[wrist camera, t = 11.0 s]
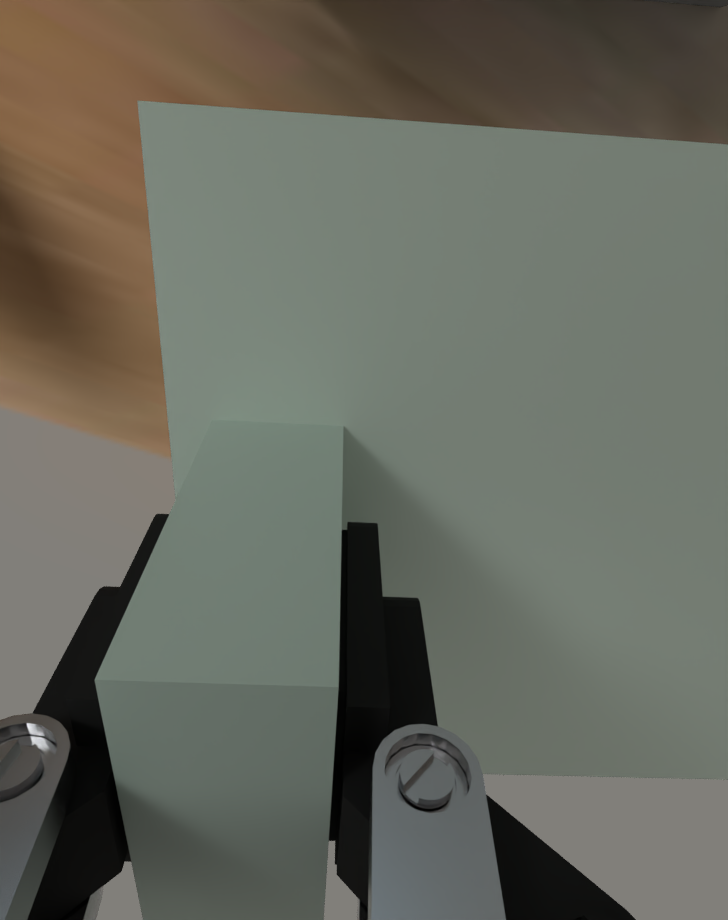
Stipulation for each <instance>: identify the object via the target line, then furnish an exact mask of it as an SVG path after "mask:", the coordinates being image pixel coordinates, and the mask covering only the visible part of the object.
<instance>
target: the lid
mask: <svg viewBox="0 0 728 920" xmlns="http://www.w3.org/2000/svg"><path fill="white" fill-rule="evenodd" d="M138 111H139V121H140V132H141V142H142V153H143V163H144V174H145V184H146V195H147V205H148V216H149V226H150V237H151V247H152V258H153V268H154V279H155V289H156V300H157V310H158V321H159V331H160V342H161V352H162V363H163V373H164V384H165V394H166V405H167V415H168V426H169V436H170V447H171V457H172V466H173V477H174V489H175V499H176V501H175V503H174V505H173V507H172V510H171V512H170V514H169V516H168V518H167V521H166V523H165V525H164V527H163V529H162V532H161V534H160V536H159V538H158V540H157V543H156V545H155V547H154V549H153V552H152V554H151V556H150V558H149V560H148V563H147V565H146V567H145V569H144V571H143V574H142V576H141V578H140V580H139V583H138V585H137V587H136V589H135V591H134V594H133V596H132V598H131V600H130V602H129V605H128V607H127V609H126V611H125V614H124V616H123V618H122V620H121V622H120V625H119V627H118V629H117V631H116V633H115V636H114V638H113V640H112V642H111V645H110V647H109V649H108V651H107V653H106V656H105V658H104V660H103V662H102V664H101V667H100V669H99V671H98V673H97V675H96V678H95V685H96V690H97V695H98V700H99V705H100V710H101V715H102V720H103V724H104V729H105V734H106V739H107V744H108V749H109V754H110V759H111V764H112V769H113V774H114V779H115V784H116V789H117V793H118V798H119V803H120V808H121V813H122V818H123V823H124V828H125V833H126V838H127V843H128V848H129V853H130V858H131V862H132V867H133V872H134V877H135V882H136V887H137V892H138V897H139V902H140V907H141V912H142V917H143V920H324V905H325V903H324V902H325V889H326V873H327V858H328V842H329V828H330V812H331V797H332V782H333V766H334V751H335V735H336V720H337V705H338V689H339V642H340V589H341V536H342V530H347V522H365V523H377V524H378V535H379V549H380V564H381V579H382V593H383V597H409V598H418V599H419V601H420V606H421V612H422V619H423V626H424V633H425V640H426V647H427V654H428V661H429V668H430V675H431V681H432V688H433V695H434V702H435V709H436V716H437V723H438V727H442V728H444V729H446V730H448V731H450V732H452V733H454V734H456V735H457V736H458V737H459V738H461V739H462V740H463V741H464V742H465V743H467V744H468V745H469V747H470V748H471V750H472V751H473V753H474V754H475V755H476V757H477V758H478V761H479V764H480V767H481V770H482V773H483V774H503V775H546V776H547V775H548V776H590V777H592V776H593V777H636V778H637V777H638V778H681V779H723V780H725V779H726V780H728V144H715V143H701V142H688V141H674V140H661V139H647V138H634V137H620V136H607V135H593V134H580V133H566V132H553V131H539V130H526V129H512V128H499V127H486V126H472V125H459V124H445V123H432V122H418V121H405V120H391V119H378V118H364V117H351V116H337V115H324V114H310V113H297V112H283V111H270V110H256V109H243V108H230V107H216V106H203V105H189V104H176V103H162V102H148V101H138Z"/></svg>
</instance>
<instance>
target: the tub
mask: <svg viewBox="0 0 728 920" xmlns="http://www.w3.org/2000/svg"><path fill="white" fill-rule="evenodd" d="M646 1H657V2H669V3H681V4H692V5H704V6H716V7H723V6H726V5H728V0H646Z"/></svg>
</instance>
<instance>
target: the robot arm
mask: <svg viewBox="0 0 728 920" xmlns="http://www.w3.org/2000/svg"><path fill="white" fill-rule="evenodd" d="M168 516H169V514H157V515H155V517H154V519H153V521H152V523H151V525H150V527H149V529H148V531H147V533H146V535H145V537H144V539H143V541H142V543H141V545H140V547H139V550H138V551H137V554H136V556H135V558H134V560H133V562H132V564H131V566H130V568H129V570H128V572H127V574H126V576H125V578H124V580H123V582H122V584H121V586H120V587H102V588H101V589H99V591H98V592H97V594H96V595H95V597H94V599H93V600H92V602H91V604H90V606H89V608H88V610H87V612H86V614H85V615H84V618H83V619H82V621H81V623H80V625H79V627H78V629H77V630H76V632H75V635H74V636H73V638H72V640H71V642H70V644H69V646H68V647H67V650H66V651H65V653H64V655H63V657H62V659H61V661H60V662H59V664H58V666H57V669H56V670H55V672H54V674H53V676H52V678H51V679H50V681H49V683H48V685H47V687H46V689H45V691H44V693H43V695H42V697H41V698H40V700H39V702H38V704H37V706H36V708H35V710H34V711H33V713H31V714H22V715H14V716H11V717H8V718H5V719H2V720H0V920H96V917H97V913H98V910H99V906H100V903H101V899H102V892H103V885H105V884H106V883H107V882H109V881H110V880H111V879H112V878H114V877H115V876H116V875H117V874H119V873H120V872H121V871H122V868H123V864H124V861H131V858H130V853H129V848H128V843H127V838H126V833H125V828H124V823H123V818H122V813H121V808H120V803H119V798H118V793H117V789H116V784H115V779H114V774H113V769H112V764H111V759H110V754H109V749H108V744H107V739H106V734H105V729H104V724H103V720H102V715H101V710H100V705H99V700H98V695H97V690H96V685H95V678H96V675H97V673H98V671H99V669H100V667H101V664H102V662H103V660H104V658H105V656H106V653H107V651H108V649H109V647H110V645H111V642H112V640H113V638H114V636H115V633H116V631H117V629H118V627H119V625H120V622H121V620H122V618H123V616H124V614H125V611H126V609H127V607H128V605H129V602H130V600H131V598H132V596H133V594H134V591H135V589H136V587H137V585H138V583H139V580H140V578H141V576H142V574H143V571H144V569H145V567H146V565H147V563H148V560H149V558H150V556H151V554H152V552H153V549H154V547H155V545H156V543H157V540H158V538H159V536H160V534H161V532H162V529H163V527H164V525H165V523H166V521H167V518H168ZM329 841H335V864H337V875H338V876H339V877H340V879H341V880H342V881H343V882H344V883H345V884H346V885H347V886H348V887H349V888H350V890H352V892H353V893H354V894H355V895H356V896H357V897H358V910H357V911H358V912H357V913H358V914H357V920H636V919H635V918H634V917H633V916H632V915H630V913H629V912H628V911H627V910H625V909H624V908H623V907H622V906H621V905H620V904H618V903H617V902H616V901H615V900H614V899H612V898H611V897H610V896H609V895H607V894H606V893H605V892H604V891H603V890H601V889H600V888H599V887H598V886H596V885H595V884H594V883H593V882H592V881H590V880H589V879H588V878H587V877H586V876H584V875H583V874H582V873H581V872H580V871H578V870H577V869H576V868H575V867H574V866H572V865H571V864H570V863H569V862H567V861H566V860H565V859H563V857H561V856H560V855H559V854H558V853H557V852H555V851H554V850H553V849H552V848H551V847H549V846H548V845H547V844H546V843H544V842H543V841H542V840H541V839H540V838H538V837H537V836H536V835H535V834H534V833H532V832H531V831H530V830H528V829H527V828H526V827H525V826H524V825H523V824H521V823H520V822H519V821H518V820H517V819H515V818H514V817H513V816H511V815H510V814H509V813H508V812H507V811H506V810H504V809H503V808H502V807H501V806H500V805H498V804H497V803H496V802H495V801H494V800H492V799H491V798H490V797H489V796H487V795H486V791H485V786H484V779H483V773H482V770H481V767H480V764H479V761H478V758H477V757H476V755H475V754H474V753H473V751H472V750H471V748H470V747H469V745H468V744H467V743H465V742H464V741H463V740H462V739H461V738H459V737H458V736H457V735H456V734H454V733H452V732H450V731H448V730H446V729H444V728H442V727H438V723H437V716H436V709H435V702H434V695H433V688H432V681H431V675H430V668H429V661H428V654H427V647H426V640H425V633H424V626H423V619H422V612H421V606H420V601H419V599H418V598H409V597H383V593H382V579H381V564H380V549H379V535H378V524H377V523H365V522H347V530H342V536H341V589H340V642H339V689H338V705H337V720H336V735H335V751H334V766H333V782H332V797H331V812H330V828H329Z"/></svg>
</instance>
